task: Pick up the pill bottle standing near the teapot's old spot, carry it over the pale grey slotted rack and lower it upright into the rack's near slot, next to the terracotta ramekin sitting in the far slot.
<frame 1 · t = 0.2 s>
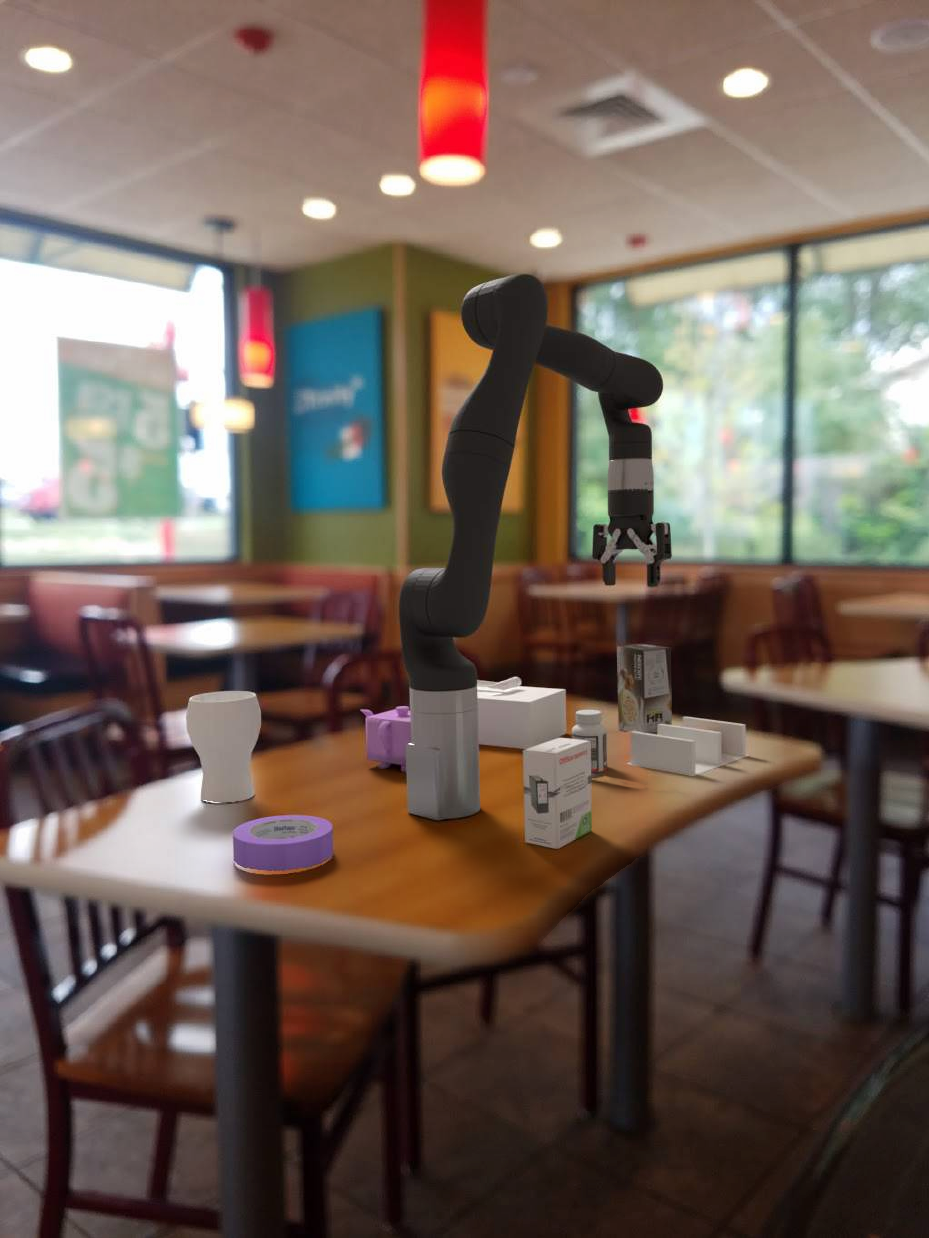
hand: (631, 586, 160), 28 cm above the table, fingers open, 8 cm apart
rack: (688, 765, 153), on the table
cup: (227, 798, 142), on the table
coffee box: (644, 732, 179), on the table
ink box: (559, 838, 119), on the table
pill bottle: (589, 775, 150), on the table
ramekin: (701, 754, 156), point 1 cm above the table, touching rack
teapot: (406, 765, 159), on the table
tissue box: (489, 737, 180), on the table
masking tape: (284, 861, 115), on the table
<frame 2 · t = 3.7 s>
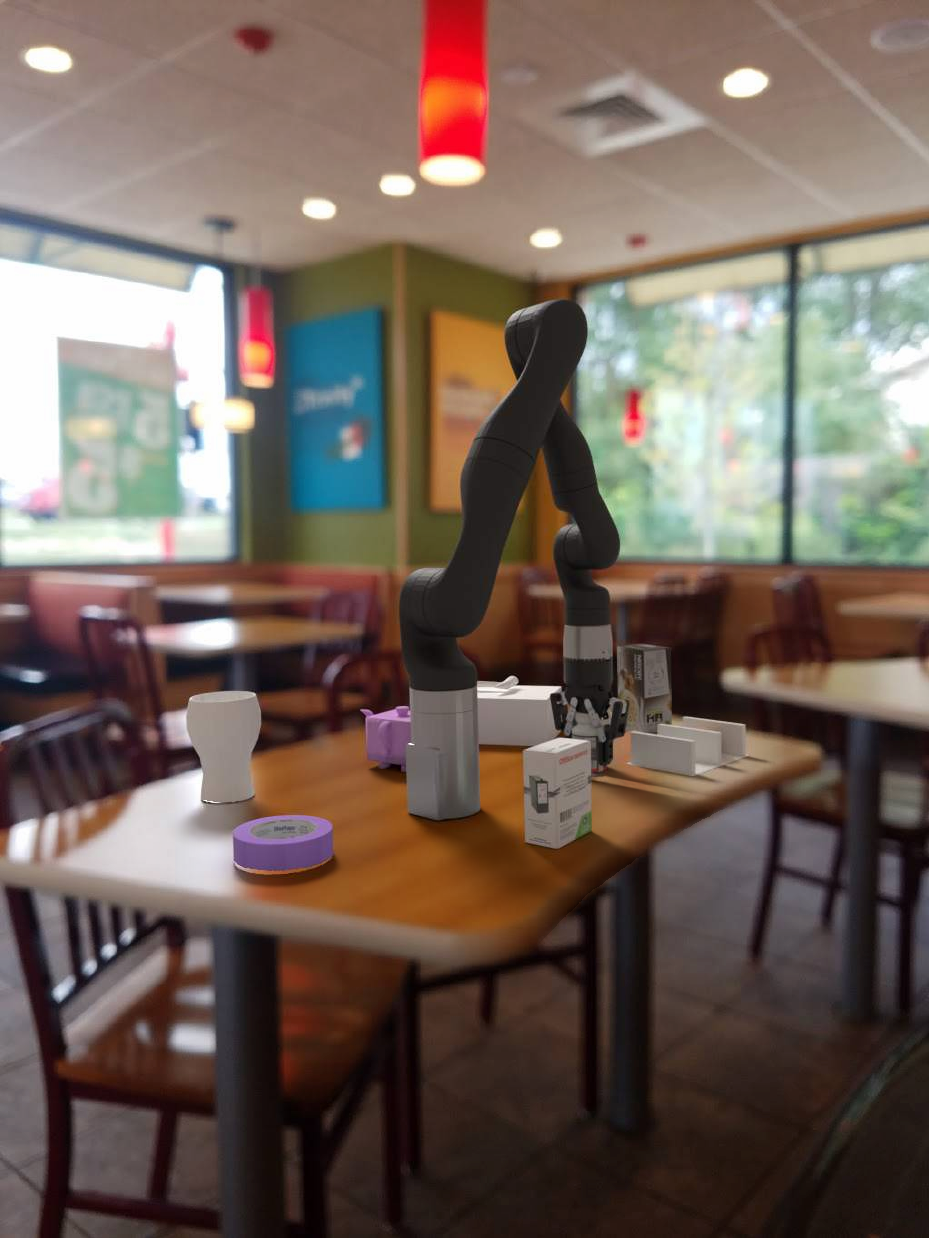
hand: (589, 761, 150), 2 cm above the table, fingers closed on pill bottle, 5 cm apart
pill bottle: (589, 774, 150), on the table, touching gripper
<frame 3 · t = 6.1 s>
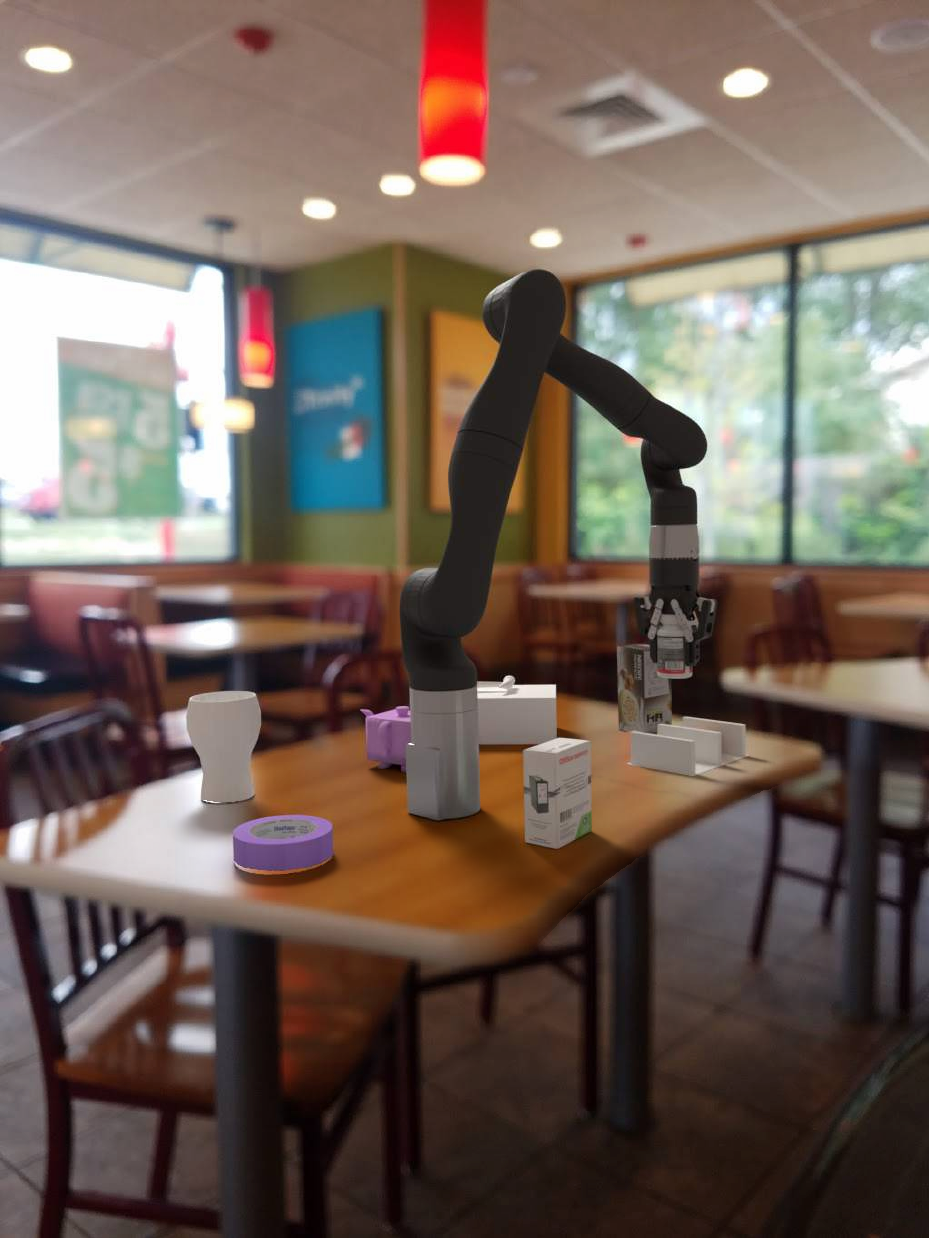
hand: (674, 663, 149), 17 cm above the table, fingers closed on pill bottle, 5 cm apart
pill bottle: (674, 677, 149), point 15 cm above the table, touching gripper
when the fingers open (5 cm above the table, at t = 9.1 s): pill bottle drops 1 cm, resting on rack.
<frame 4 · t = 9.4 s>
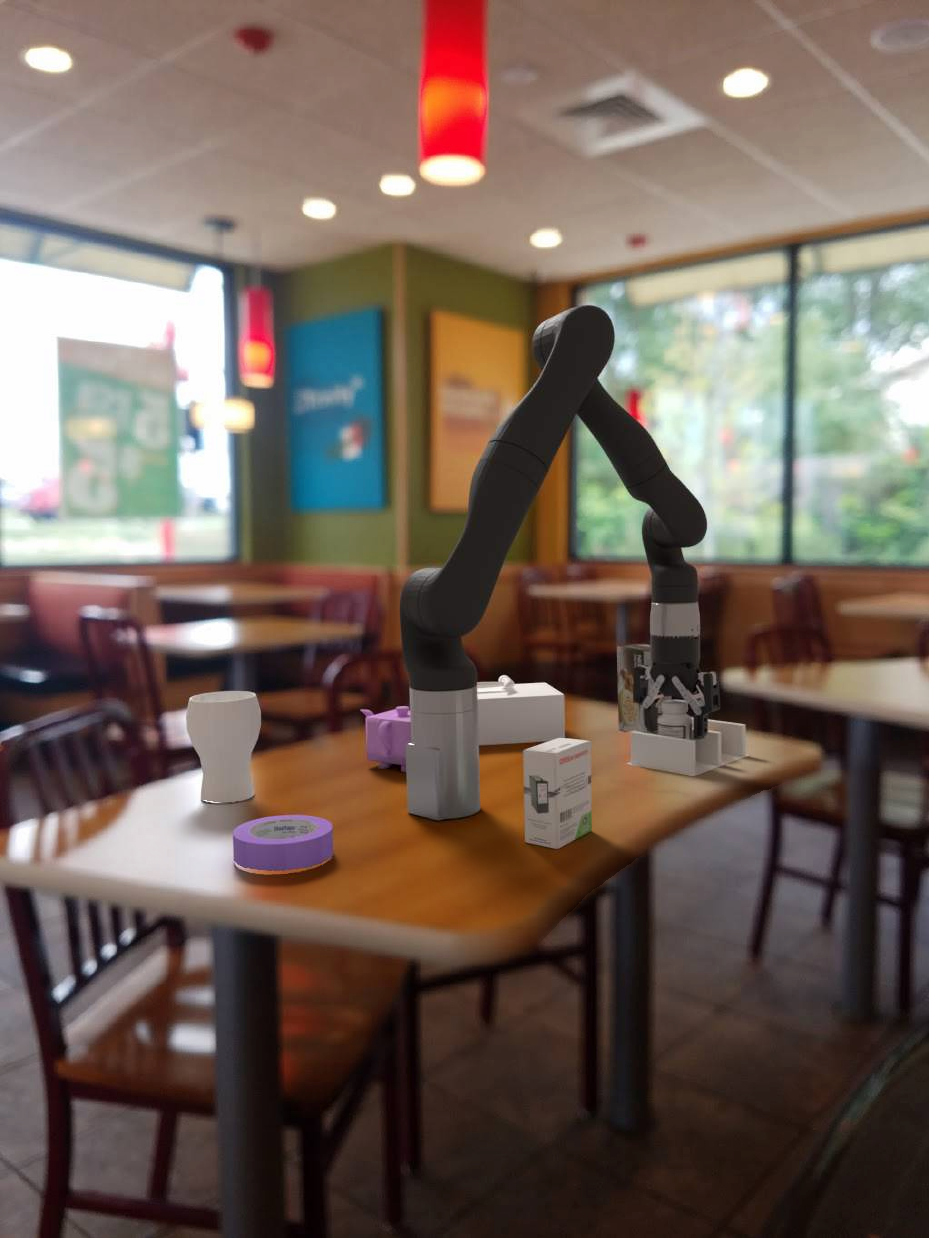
hand: (675, 734, 150), 6 cm above the table, fingers open, 8 cm apart
pill bottle: (675, 764, 151), point 1 cm above the table, touching rack
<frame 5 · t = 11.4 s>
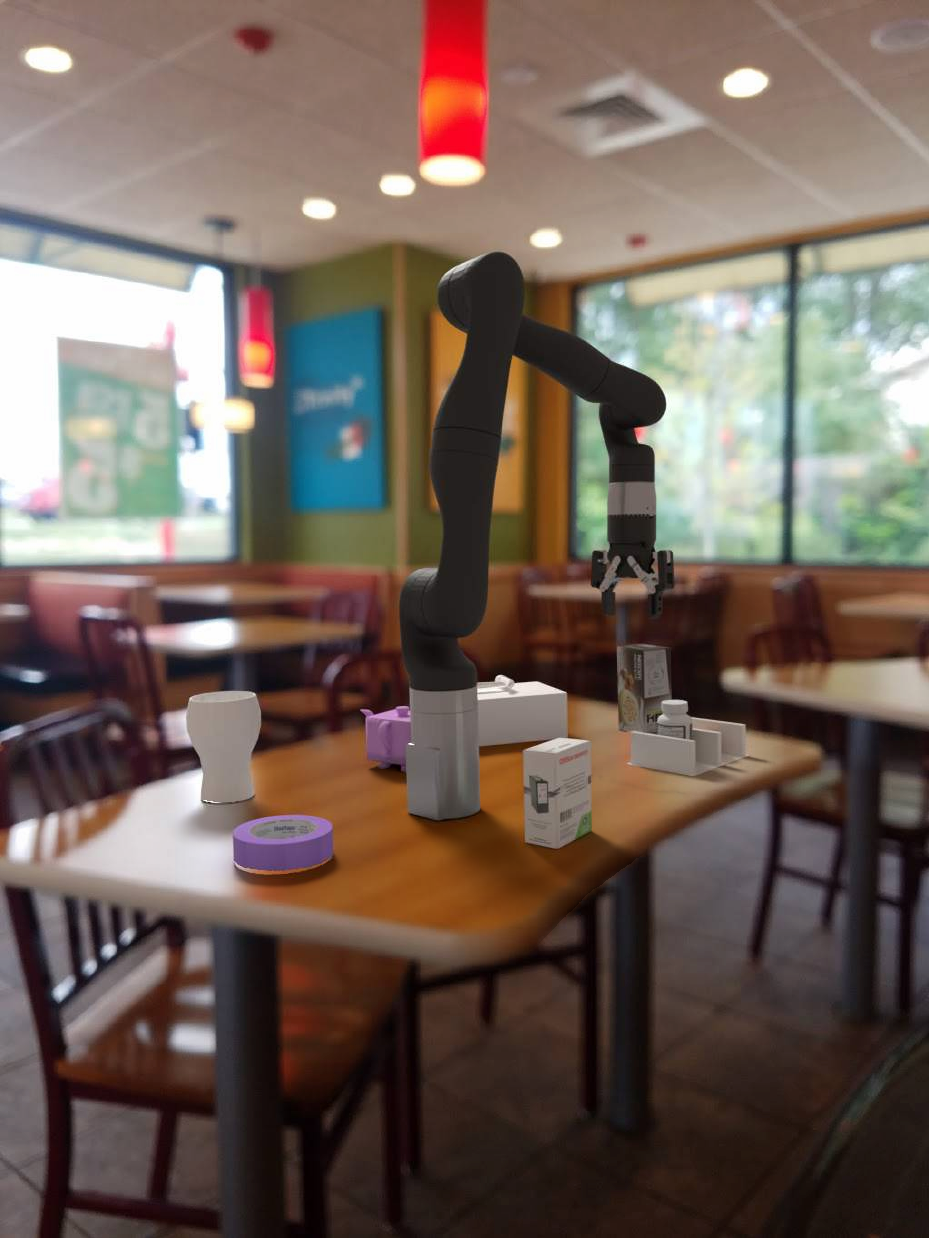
hand: (631, 616, 151), 24 cm above the table, fingers open, 8 cm apart
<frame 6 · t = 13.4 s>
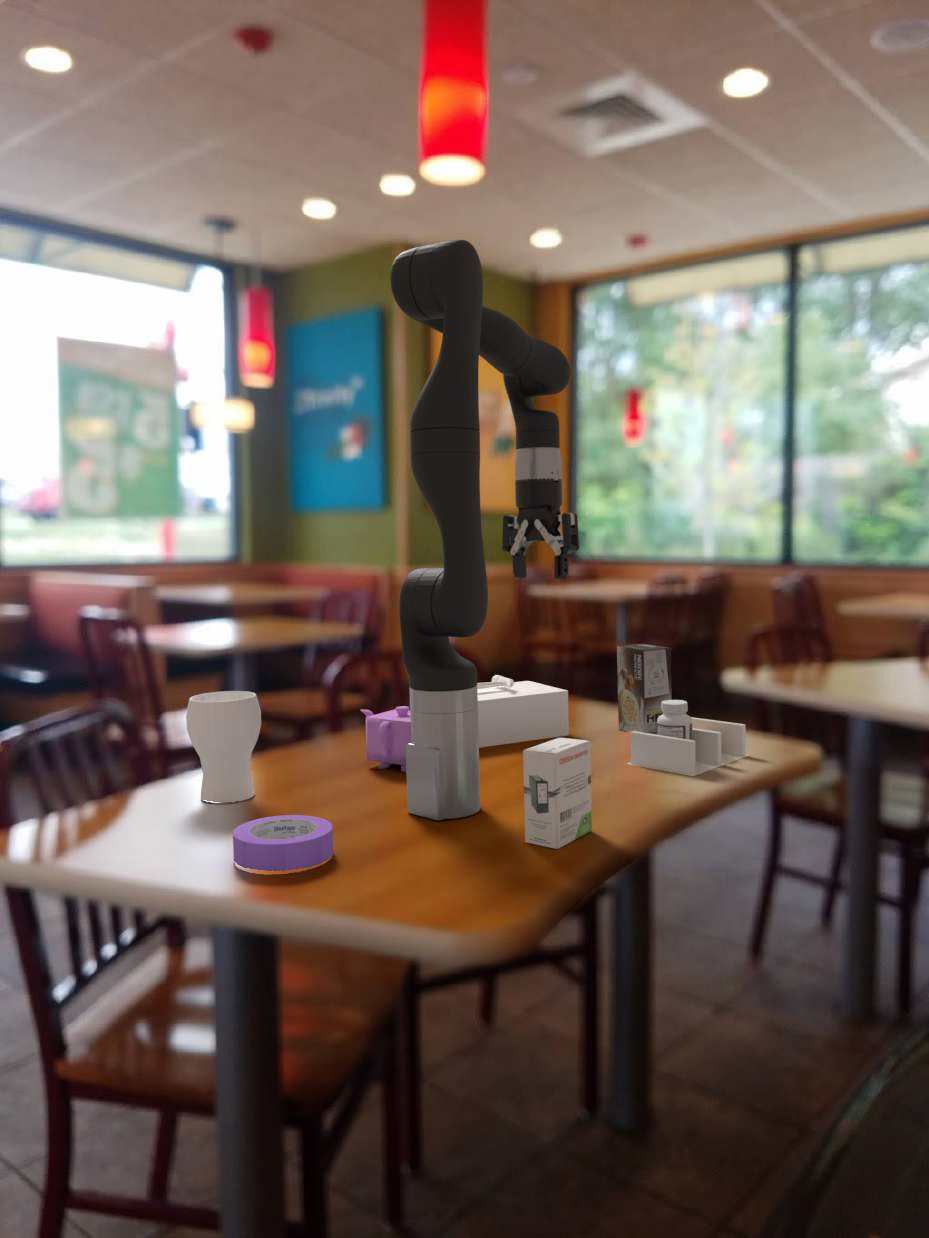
hand: (540, 578, 156), 30 cm above the table, fingers open, 8 cm apart
at the end: pill bottle inside the target area on the rack (0.1 cm from its centre), point 0.8 cm above the rack's base; pill bottle tilted 0°; the gripper is holding nothing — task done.
